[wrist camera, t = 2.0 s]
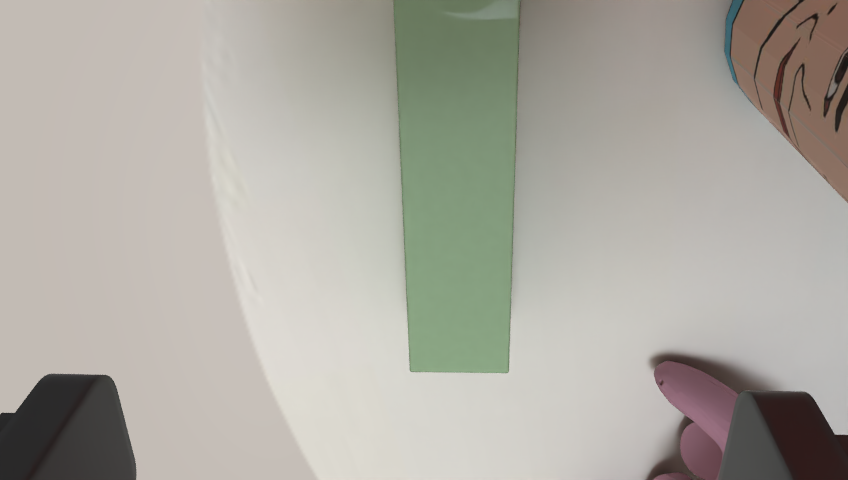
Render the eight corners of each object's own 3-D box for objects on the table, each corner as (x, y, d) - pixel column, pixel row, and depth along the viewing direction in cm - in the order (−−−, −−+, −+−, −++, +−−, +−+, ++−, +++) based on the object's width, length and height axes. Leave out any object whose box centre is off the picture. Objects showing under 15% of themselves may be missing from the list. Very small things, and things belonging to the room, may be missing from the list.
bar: (402, -62, 25) (391, -41, 21) (514, -64, 24) (521, -44, 21) (416, 309, 31) (409, 372, 28) (504, 310, 31) (508, 373, 28)
